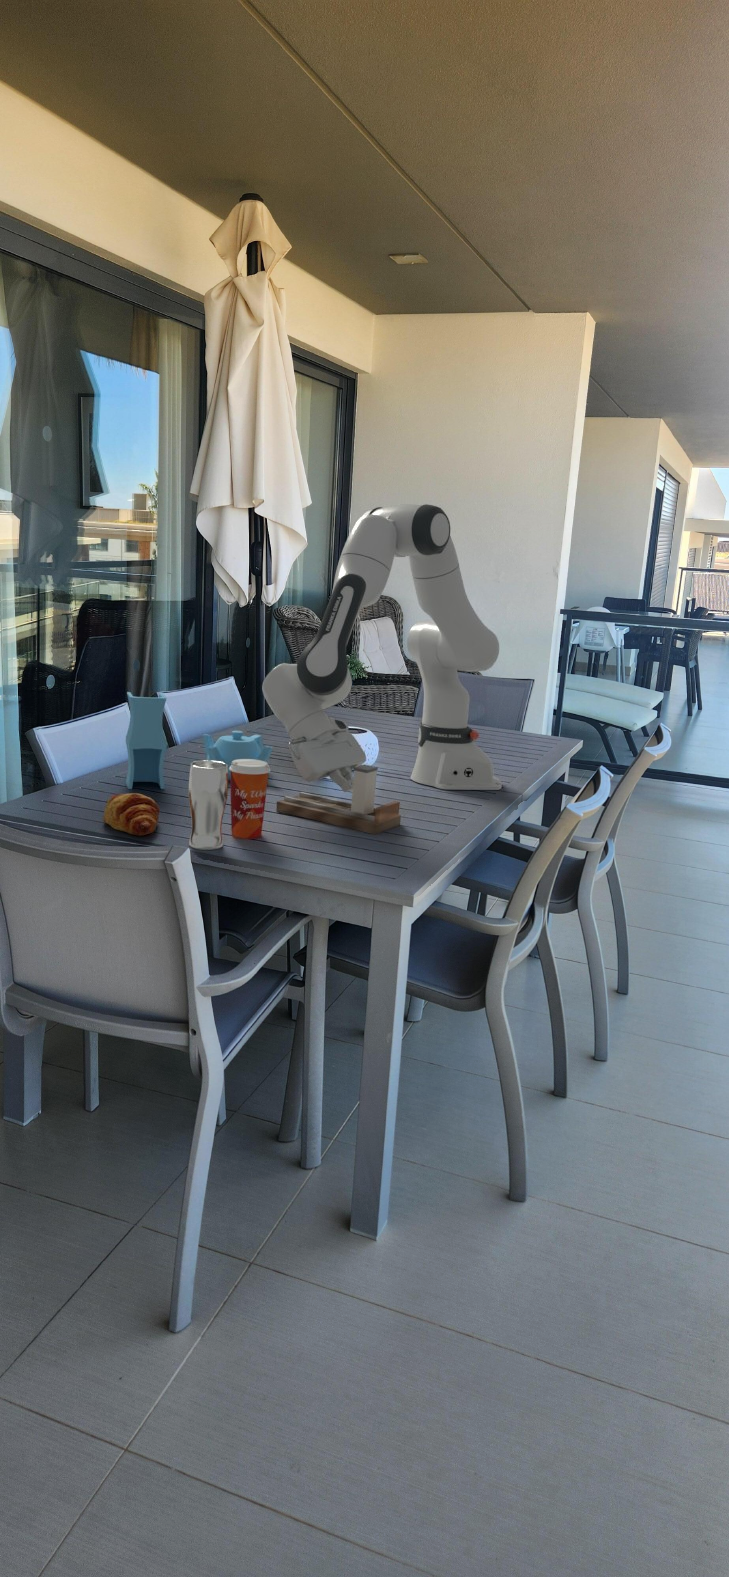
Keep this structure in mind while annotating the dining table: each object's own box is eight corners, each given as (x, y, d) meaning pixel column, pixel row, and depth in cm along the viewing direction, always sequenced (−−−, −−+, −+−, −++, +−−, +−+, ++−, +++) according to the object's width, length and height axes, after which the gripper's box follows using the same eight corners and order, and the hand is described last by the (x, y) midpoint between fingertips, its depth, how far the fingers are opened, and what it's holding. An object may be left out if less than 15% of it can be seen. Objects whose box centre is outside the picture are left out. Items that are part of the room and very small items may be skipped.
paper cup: (232, 841, 183) (235, 767, 180) (221, 830, 190) (224, 758, 187) (272, 839, 186) (276, 766, 183) (260, 828, 193) (264, 758, 190)
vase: (160, 780, 225) (163, 692, 220) (165, 789, 218) (167, 698, 213) (124, 780, 222) (126, 691, 218) (128, 789, 215) (130, 697, 210)
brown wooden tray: (276, 810, 207) (277, 787, 206) (303, 802, 215) (304, 780, 214) (375, 834, 195) (377, 809, 194) (400, 824, 204) (402, 801, 202)
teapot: (272, 784, 230) (275, 738, 228) (207, 783, 226) (209, 736, 224) (262, 769, 244) (264, 726, 242) (200, 768, 240) (202, 724, 238)
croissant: (102, 829, 197) (83, 795, 194) (146, 803, 200) (128, 769, 197) (133, 858, 179) (113, 821, 176) (181, 829, 182) (162, 793, 179)
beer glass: (217, 852, 176) (221, 770, 172) (180, 847, 177) (183, 765, 174) (230, 842, 182) (234, 762, 179) (194, 837, 184) (197, 758, 180)
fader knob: (350, 812, 201) (353, 767, 199) (360, 809, 204) (364, 764, 202) (363, 815, 199) (367, 770, 197) (374, 812, 203) (377, 767, 201)
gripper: (295, 731, 195) (333, 789, 192) (349, 720, 212) (385, 773, 209) (275, 750, 198) (313, 807, 195) (330, 738, 215) (366, 790, 213)
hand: (351, 789), depth 202 cm, fingers closed
